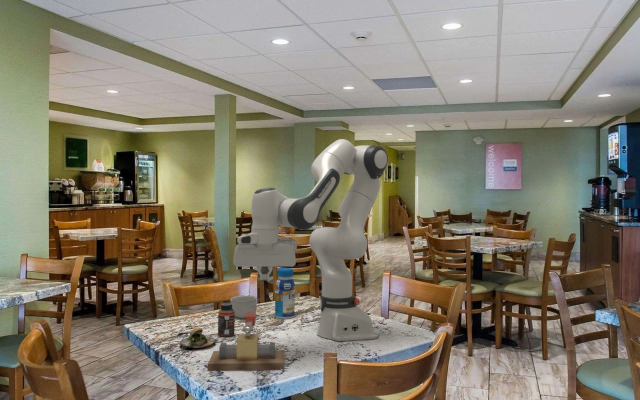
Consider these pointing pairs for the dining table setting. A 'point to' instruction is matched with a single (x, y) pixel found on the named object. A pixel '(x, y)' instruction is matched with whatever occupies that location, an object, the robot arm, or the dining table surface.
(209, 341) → the burger
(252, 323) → the valve lever
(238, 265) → the robot arm
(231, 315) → the supplement bottle
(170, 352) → the dining table surface
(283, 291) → the beverage bottle
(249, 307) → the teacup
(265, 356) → the brass valve
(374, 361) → the dining table surface
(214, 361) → the board
